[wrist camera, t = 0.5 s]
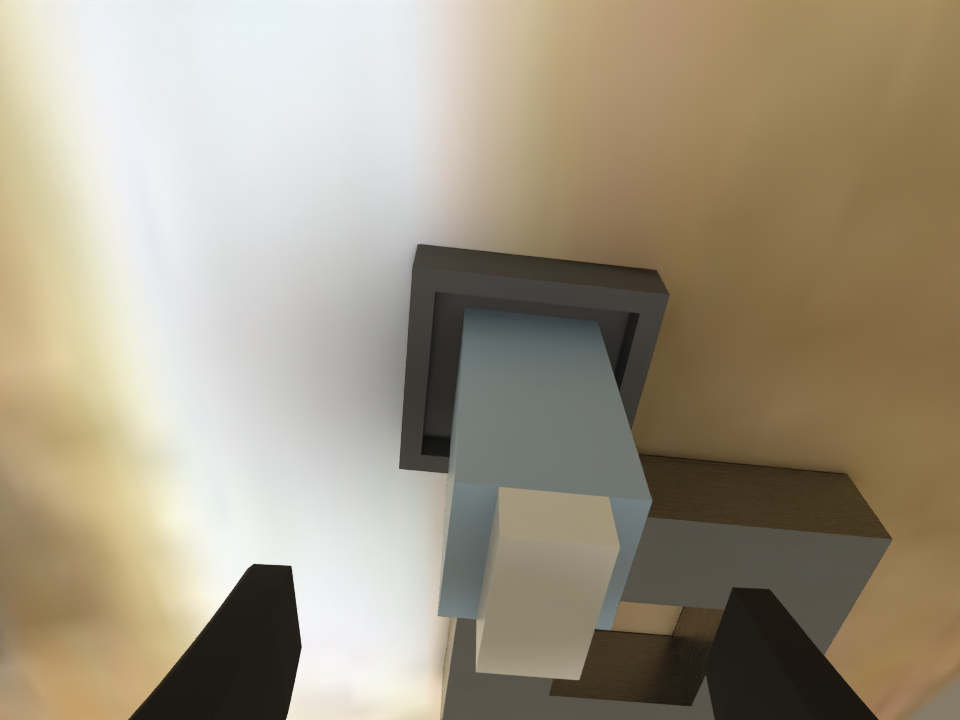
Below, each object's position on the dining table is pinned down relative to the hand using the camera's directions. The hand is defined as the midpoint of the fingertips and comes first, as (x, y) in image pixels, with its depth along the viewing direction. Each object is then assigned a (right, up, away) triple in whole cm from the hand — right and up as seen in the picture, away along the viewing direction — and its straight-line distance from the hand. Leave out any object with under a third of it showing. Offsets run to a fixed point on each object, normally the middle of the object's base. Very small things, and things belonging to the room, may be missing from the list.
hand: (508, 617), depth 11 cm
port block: (+5, -4, +13) cm, 15 cm away
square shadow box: (+1, +4, +8) cm, 9 cm away
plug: (+1, +4, +8) cm, 9 cm away
